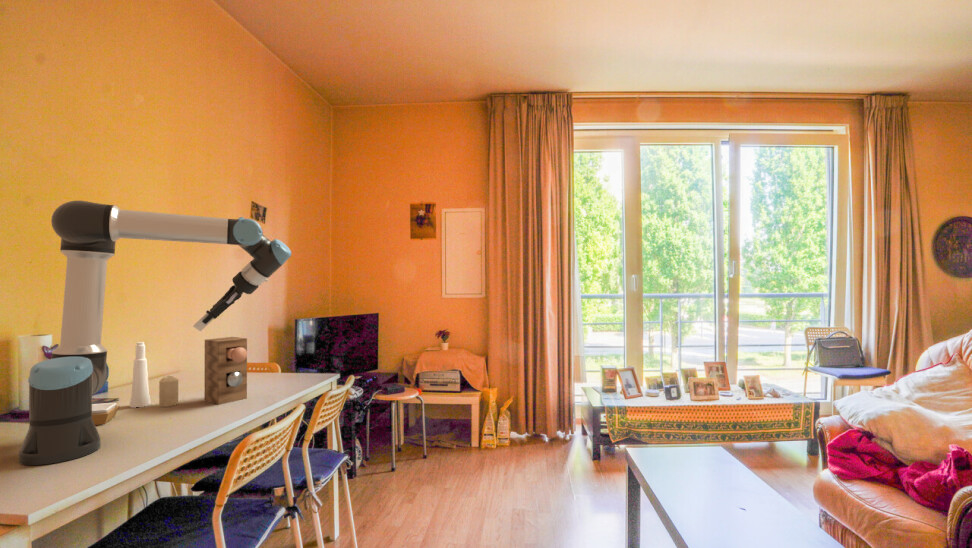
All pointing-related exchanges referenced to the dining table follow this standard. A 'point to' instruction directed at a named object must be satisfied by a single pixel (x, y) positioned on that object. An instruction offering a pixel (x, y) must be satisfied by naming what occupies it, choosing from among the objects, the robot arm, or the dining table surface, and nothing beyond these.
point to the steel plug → (234, 379)
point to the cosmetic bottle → (140, 379)
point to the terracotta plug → (236, 354)
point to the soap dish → (103, 412)
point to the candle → (168, 391)
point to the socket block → (223, 370)
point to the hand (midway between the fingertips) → (197, 327)
